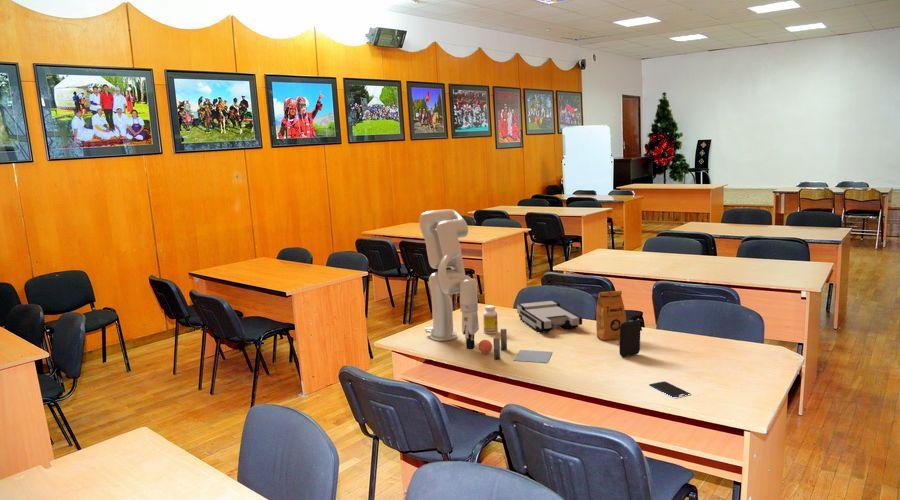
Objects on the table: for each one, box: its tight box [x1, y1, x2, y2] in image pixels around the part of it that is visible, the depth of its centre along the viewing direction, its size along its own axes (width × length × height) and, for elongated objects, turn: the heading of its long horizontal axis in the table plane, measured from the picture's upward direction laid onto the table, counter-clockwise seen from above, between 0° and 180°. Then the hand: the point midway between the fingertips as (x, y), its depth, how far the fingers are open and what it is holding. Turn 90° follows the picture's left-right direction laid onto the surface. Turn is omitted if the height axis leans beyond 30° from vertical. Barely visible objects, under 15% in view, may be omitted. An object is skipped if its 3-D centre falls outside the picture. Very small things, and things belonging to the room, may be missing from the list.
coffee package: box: [595, 290, 627, 341], centre depth 275 cm, size 10×12×22 cm
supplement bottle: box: [482, 304, 499, 335], centre depth 292 cm, size 7×7×13 cm
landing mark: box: [513, 349, 553, 364], centre depth 255 cm, size 14×14×1 cm
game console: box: [516, 300, 583, 334], centre depth 301 cm, size 21×32×8 cm, turn 14°
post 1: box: [492, 336, 501, 361], centre depth 253 cm, size 3×3×9 cm
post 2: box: [500, 328, 508, 352], centre depth 265 cm, size 3×3×9 cm
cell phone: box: [648, 381, 691, 398], centre depth 215 cm, size 7×14×1 cm, turn 21°
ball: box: [477, 339, 493, 355], centre depth 261 cm, size 6×6×6 cm
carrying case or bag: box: [618, 319, 643, 358], centre depth 251 cm, size 11×3×15 cm, turn 111°
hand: (470, 348), depth 263 cm, fingers closed
